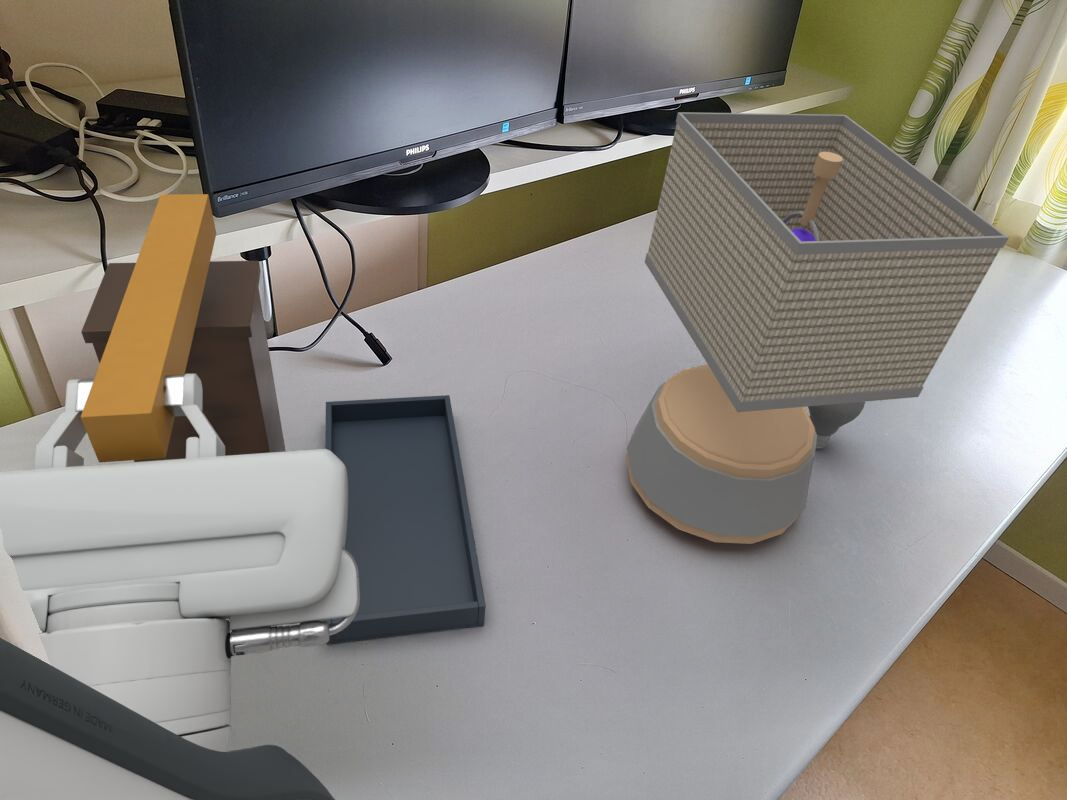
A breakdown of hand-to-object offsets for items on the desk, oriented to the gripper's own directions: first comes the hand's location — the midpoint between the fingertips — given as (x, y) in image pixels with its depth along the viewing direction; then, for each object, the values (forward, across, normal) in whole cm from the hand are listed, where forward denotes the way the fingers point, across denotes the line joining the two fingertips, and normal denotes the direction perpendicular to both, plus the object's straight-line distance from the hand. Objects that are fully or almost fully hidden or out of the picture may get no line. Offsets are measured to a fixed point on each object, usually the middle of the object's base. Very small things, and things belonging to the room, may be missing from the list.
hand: (136, 379), depth 38 cm
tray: (-1, -13, +36) cm, 39 cm away
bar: (+5, 0, +5) cm, 7 cm away
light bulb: (+3, -61, +39) cm, 73 cm away
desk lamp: (-1, -46, +37) cm, 59 cm away
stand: (-1, +2, +36) cm, 36 cm away
